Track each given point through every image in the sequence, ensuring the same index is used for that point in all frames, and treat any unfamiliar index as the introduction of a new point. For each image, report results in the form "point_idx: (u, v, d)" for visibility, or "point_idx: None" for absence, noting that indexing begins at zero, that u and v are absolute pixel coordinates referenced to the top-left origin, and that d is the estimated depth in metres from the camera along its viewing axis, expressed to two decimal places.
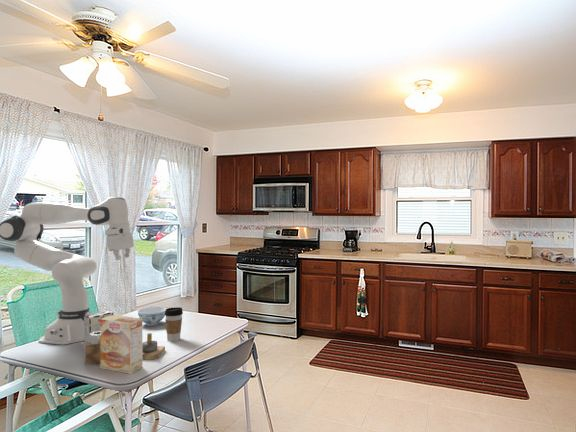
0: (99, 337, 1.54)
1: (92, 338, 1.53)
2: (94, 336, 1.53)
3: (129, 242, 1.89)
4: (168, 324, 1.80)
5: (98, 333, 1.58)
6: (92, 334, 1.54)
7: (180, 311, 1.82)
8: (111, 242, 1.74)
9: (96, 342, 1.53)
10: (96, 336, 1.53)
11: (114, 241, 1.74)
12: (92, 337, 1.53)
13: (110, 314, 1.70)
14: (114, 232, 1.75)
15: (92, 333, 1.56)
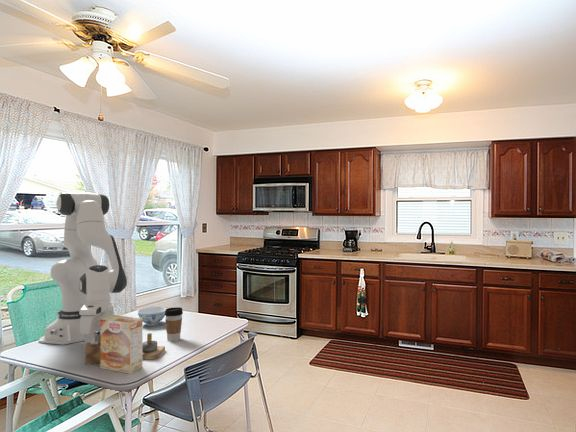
0: (99, 337, 1.54)
1: None
2: None
3: None
4: (168, 324, 1.80)
5: (98, 333, 1.58)
6: None
7: (180, 311, 1.82)
8: (85, 325, 1.46)
9: (96, 342, 1.53)
10: (96, 336, 1.53)
11: (89, 324, 1.46)
12: None
13: None
14: (90, 313, 1.47)
15: None
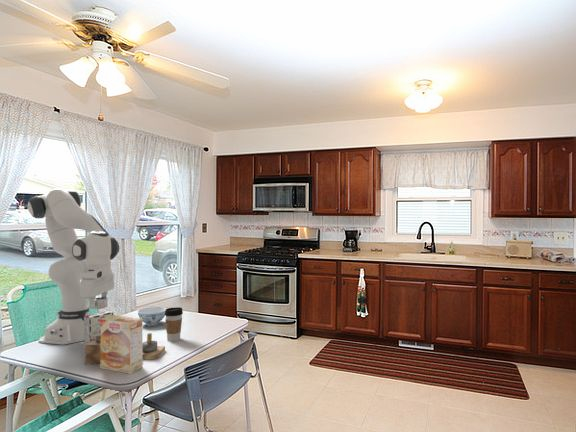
0: (99, 302, 1.54)
1: None
2: None
3: (108, 284, 1.61)
4: (168, 324, 1.80)
5: (98, 299, 1.58)
6: None
7: (180, 311, 1.82)
8: (85, 288, 1.46)
9: (96, 307, 1.53)
10: (96, 301, 1.53)
11: (89, 287, 1.46)
12: None
13: (110, 314, 1.70)
14: (90, 276, 1.47)
15: None
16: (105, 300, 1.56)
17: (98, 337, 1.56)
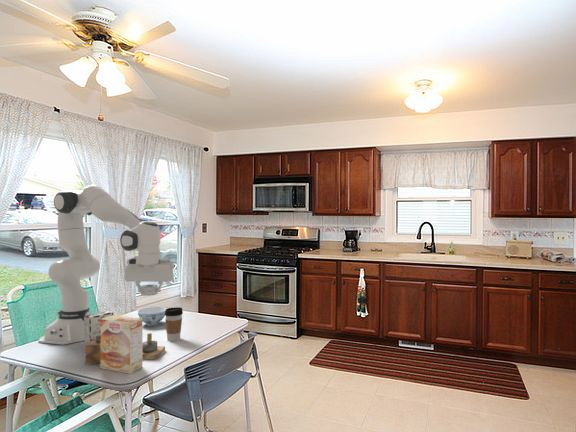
0: (141, 288, 1.62)
1: None
2: None
3: (159, 275, 1.62)
4: (168, 324, 1.80)
5: None
6: (146, 285, 1.65)
7: (180, 311, 1.82)
8: None
9: None
10: None
11: None
12: None
13: (110, 314, 1.70)
14: None
15: (149, 284, 1.66)
16: (145, 288, 1.60)
17: (98, 337, 1.56)
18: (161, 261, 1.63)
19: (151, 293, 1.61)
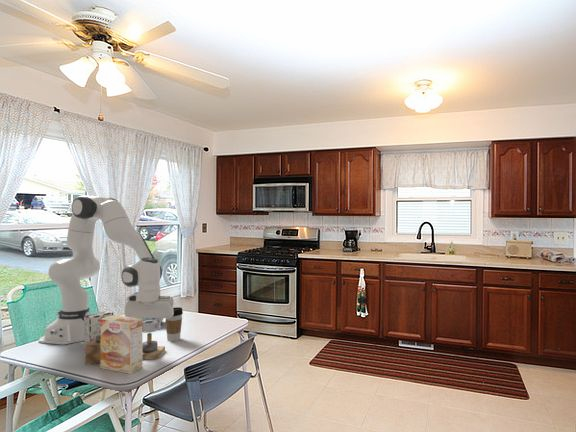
0: None
1: None
2: None
3: (159, 311, 1.62)
4: (168, 324, 1.80)
5: None
6: (146, 321, 1.65)
7: (180, 311, 1.82)
8: None
9: None
10: None
11: None
12: None
13: (110, 314, 1.70)
14: None
15: (149, 320, 1.66)
16: (145, 325, 1.61)
17: (98, 337, 1.56)
18: (161, 297, 1.63)
19: (151, 330, 1.61)
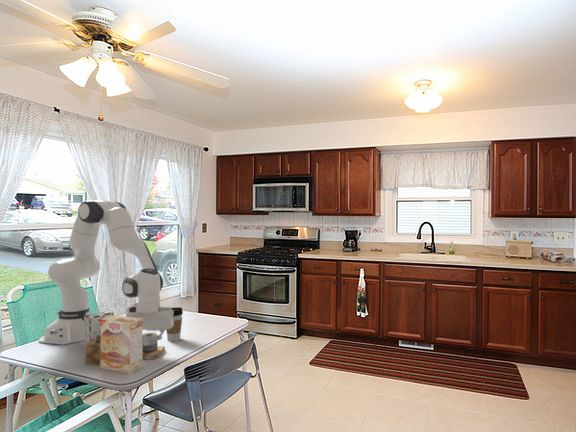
0: None
1: None
2: None
3: (159, 323, 1.62)
4: None
5: None
6: (146, 333, 1.65)
7: (180, 311, 1.82)
8: None
9: None
10: None
11: None
12: None
13: (110, 314, 1.70)
14: None
15: None
16: (145, 338, 1.61)
17: (98, 337, 1.56)
18: (161, 309, 1.63)
19: (151, 343, 1.61)
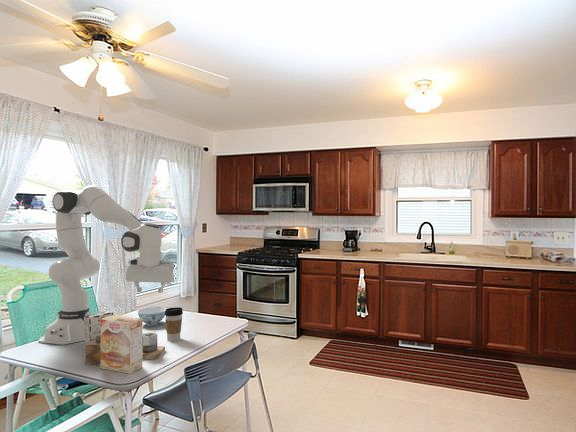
0: None
1: None
2: None
3: (159, 276, 1.65)
4: (168, 324, 1.80)
5: None
6: (146, 333, 1.65)
7: (180, 311, 1.82)
8: None
9: None
10: None
11: None
12: None
13: (110, 314, 1.70)
14: None
15: None
16: (145, 338, 1.61)
17: (98, 337, 1.56)
18: (162, 262, 1.66)
19: (151, 343, 1.61)
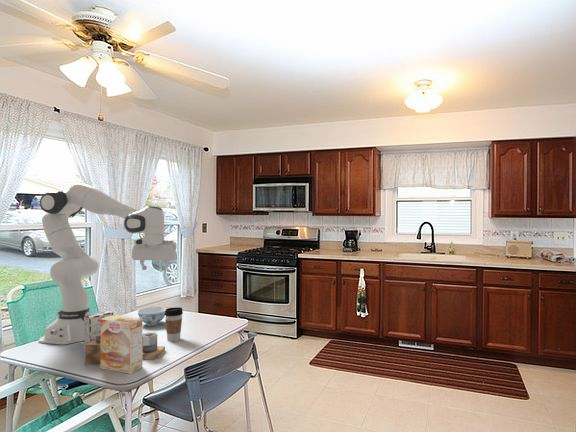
0: None
1: None
2: None
3: (163, 254, 1.78)
4: (168, 324, 1.80)
5: None
6: (146, 333, 1.65)
7: (180, 311, 1.82)
8: None
9: None
10: None
11: None
12: None
13: (110, 314, 1.70)
14: None
15: None
16: (145, 338, 1.61)
17: (98, 337, 1.56)
18: (165, 242, 1.79)
19: (151, 343, 1.61)
